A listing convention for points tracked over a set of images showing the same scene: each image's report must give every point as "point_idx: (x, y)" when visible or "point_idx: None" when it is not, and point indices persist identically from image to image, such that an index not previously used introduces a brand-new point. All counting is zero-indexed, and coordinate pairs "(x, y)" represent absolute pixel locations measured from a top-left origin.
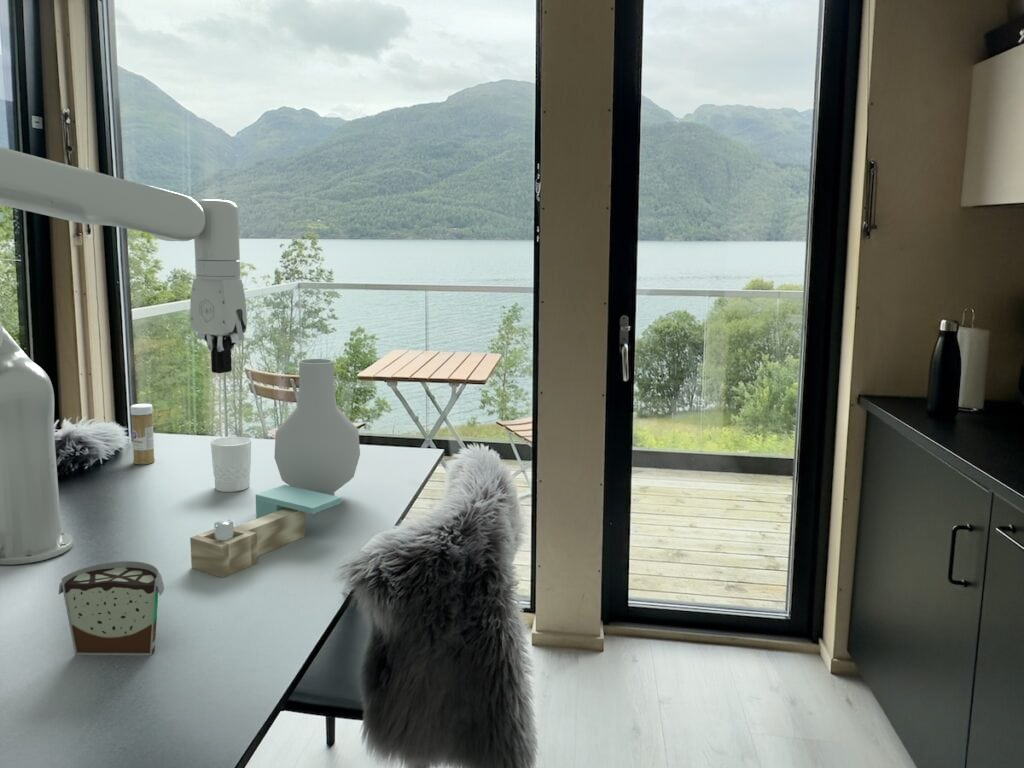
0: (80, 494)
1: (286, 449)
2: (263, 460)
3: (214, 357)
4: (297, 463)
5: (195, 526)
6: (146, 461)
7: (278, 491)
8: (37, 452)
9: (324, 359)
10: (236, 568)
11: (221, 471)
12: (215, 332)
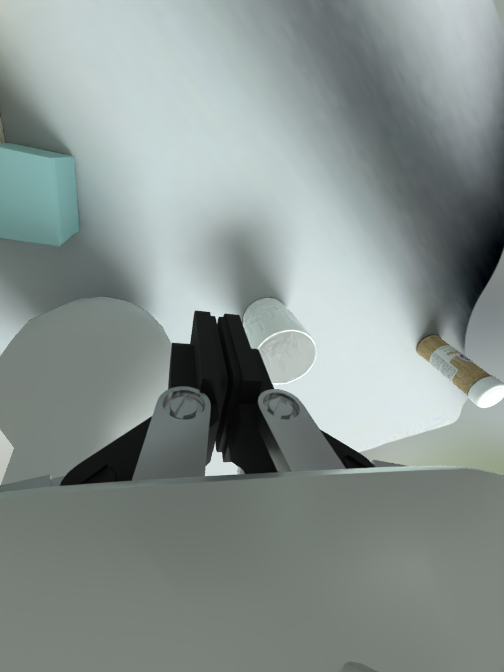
0: (448, 202)
1: (94, 320)
2: None
3: (229, 358)
4: (69, 307)
5: (192, 136)
6: (423, 342)
7: (26, 199)
8: None
9: None
10: None
11: (273, 310)
12: (122, 501)
